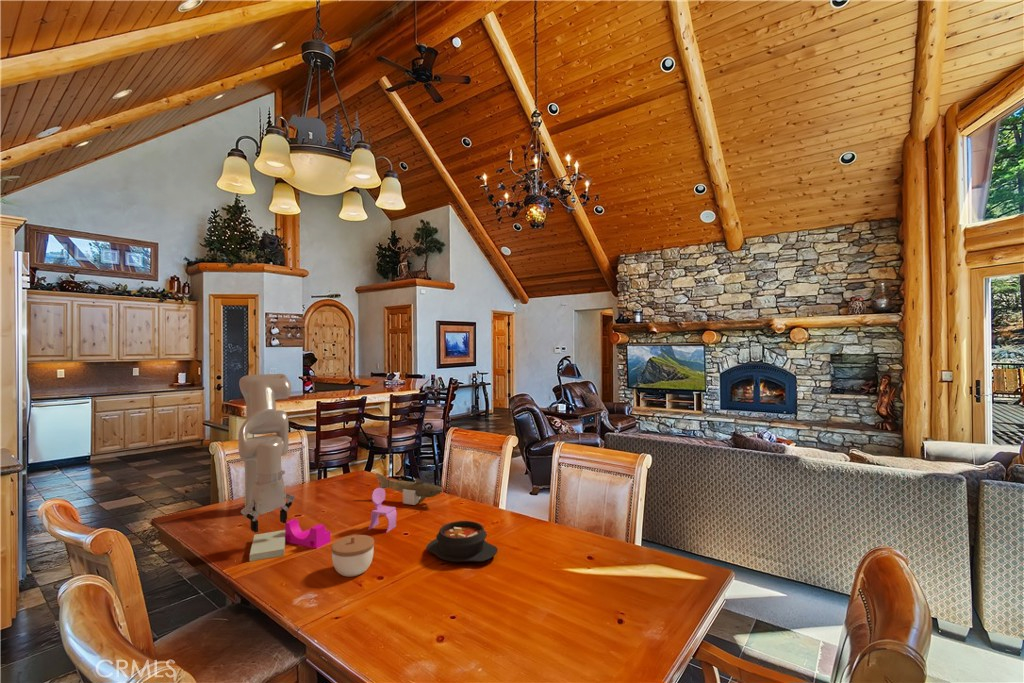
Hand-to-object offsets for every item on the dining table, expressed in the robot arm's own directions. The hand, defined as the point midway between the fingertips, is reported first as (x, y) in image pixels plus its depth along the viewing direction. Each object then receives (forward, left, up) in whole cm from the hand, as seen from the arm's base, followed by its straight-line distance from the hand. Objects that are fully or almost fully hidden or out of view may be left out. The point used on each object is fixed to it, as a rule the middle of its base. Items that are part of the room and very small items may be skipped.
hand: (269, 526), depth 157 cm
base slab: (0, 0, -9) cm, 9 cm away
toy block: (+5, +11, -9) cm, 15 cm away
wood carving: (+2, +60, -8) cm, 61 cm away
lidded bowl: (+37, +8, -8) cm, 39 cm away
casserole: (+56, +37, -8) cm, 68 cm away
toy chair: (+17, +35, -8) cm, 40 cm away
